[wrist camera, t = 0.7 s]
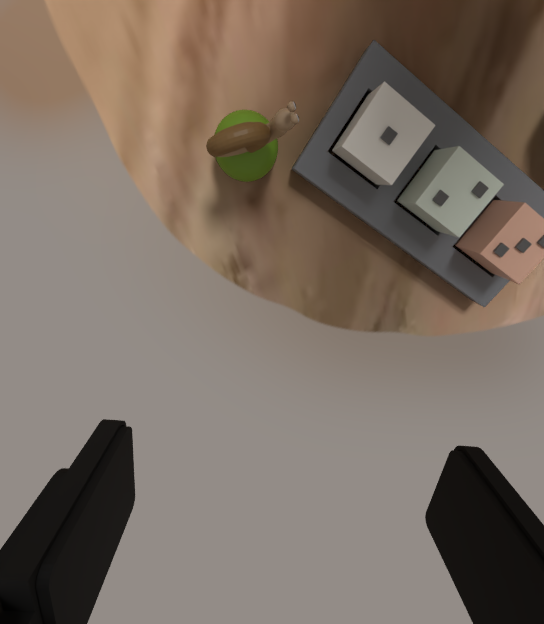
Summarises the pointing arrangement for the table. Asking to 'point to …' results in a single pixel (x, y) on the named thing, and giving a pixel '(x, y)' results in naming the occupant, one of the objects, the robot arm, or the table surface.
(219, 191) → the table surface
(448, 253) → the button board
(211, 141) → the snail figurine
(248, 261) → the table surface
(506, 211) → the pink dice cube
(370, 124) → the one pip tile
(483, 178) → the two pip tile
